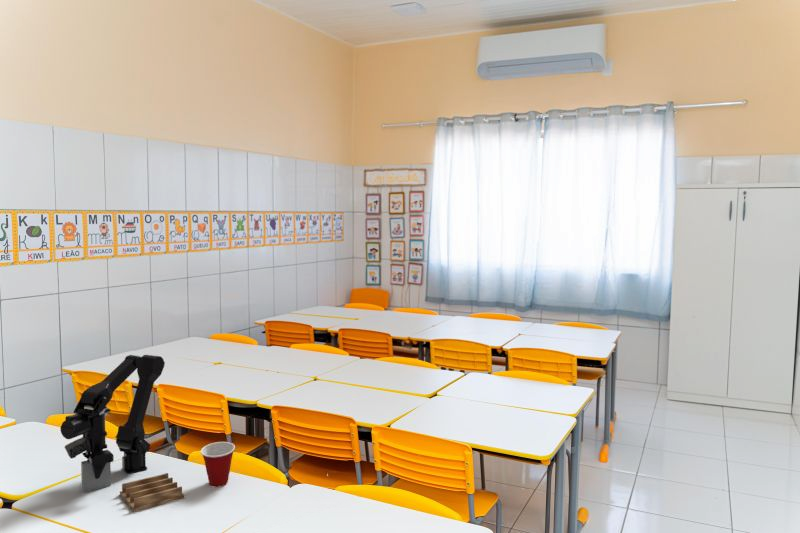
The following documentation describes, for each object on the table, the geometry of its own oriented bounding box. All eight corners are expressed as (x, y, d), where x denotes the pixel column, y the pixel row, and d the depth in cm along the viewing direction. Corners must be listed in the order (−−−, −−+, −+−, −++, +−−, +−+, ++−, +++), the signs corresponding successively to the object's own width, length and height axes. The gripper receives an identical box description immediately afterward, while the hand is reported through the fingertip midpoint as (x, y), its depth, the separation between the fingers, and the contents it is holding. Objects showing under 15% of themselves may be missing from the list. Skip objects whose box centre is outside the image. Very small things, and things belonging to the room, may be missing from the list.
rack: (168, 482, 203) (168, 472, 203) (184, 498, 192) (184, 487, 192) (120, 494, 194) (119, 483, 193) (133, 511, 183) (133, 500, 183)
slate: (108, 483, 202) (108, 456, 201) (110, 485, 200) (110, 458, 200) (81, 489, 197) (81, 461, 196) (83, 492, 195) (82, 464, 195)
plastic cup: (193, 487, 200) (193, 450, 199) (215, 474, 210) (215, 439, 209) (221, 493, 196) (220, 456, 195) (242, 480, 206) (242, 444, 205)
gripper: (60, 426, 199) (61, 473, 201) (73, 443, 185) (74, 494, 186) (98, 419, 206) (99, 465, 208) (113, 435, 192) (114, 484, 193)
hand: (96, 476), depth 198 cm, fingers closed on slate, 2 cm apart
